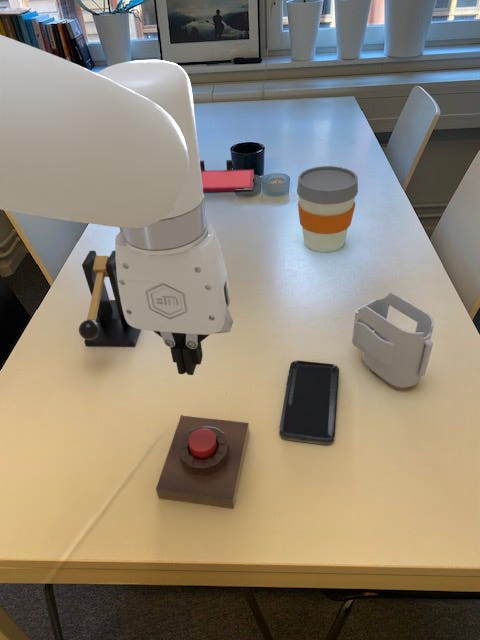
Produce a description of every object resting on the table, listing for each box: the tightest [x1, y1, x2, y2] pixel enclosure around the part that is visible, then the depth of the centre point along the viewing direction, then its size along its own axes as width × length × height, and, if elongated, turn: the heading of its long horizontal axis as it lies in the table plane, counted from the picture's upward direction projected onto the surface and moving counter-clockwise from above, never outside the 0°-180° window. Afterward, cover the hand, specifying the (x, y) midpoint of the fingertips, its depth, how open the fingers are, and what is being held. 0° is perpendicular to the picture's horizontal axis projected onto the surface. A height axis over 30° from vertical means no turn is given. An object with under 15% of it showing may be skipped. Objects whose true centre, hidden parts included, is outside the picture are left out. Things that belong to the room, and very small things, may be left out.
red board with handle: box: [200, 159, 255, 193], centre depth 137 cm, size 30×3×15 cm
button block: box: [155, 415, 250, 510], centre depth 66 cm, size 12×10×4 cm
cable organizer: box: [351, 291, 435, 388], centre depth 75 cm, size 7×12×12 cm, turn 35°
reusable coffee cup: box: [296, 165, 359, 253], centre depth 105 cm, size 12×13×15 cm
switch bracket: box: [81, 250, 142, 348], centre depth 87 cm, size 12×9×15 cm
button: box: [189, 429, 217, 459], centre depth 64 cm, size 4×4×2 cm
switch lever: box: [78, 255, 110, 340], centre depth 80 cm, size 15×3×3 cm, turn 176°
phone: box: [278, 360, 340, 446], centre depth 74 cm, size 8×1×15 cm
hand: (189, 365), depth 55 cm, fingers closed
